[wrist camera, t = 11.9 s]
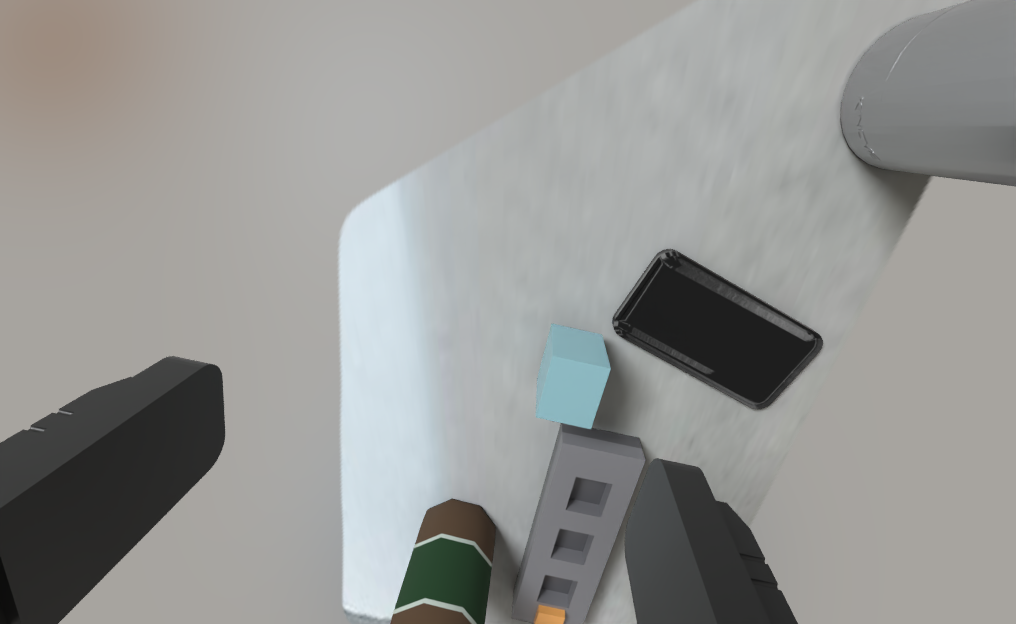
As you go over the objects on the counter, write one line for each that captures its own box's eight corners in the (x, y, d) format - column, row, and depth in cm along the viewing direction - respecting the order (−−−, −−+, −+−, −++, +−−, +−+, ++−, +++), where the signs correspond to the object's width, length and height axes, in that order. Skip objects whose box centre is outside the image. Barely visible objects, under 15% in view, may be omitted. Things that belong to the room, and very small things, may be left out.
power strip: (561, 421, 41) (562, 449, 38) (638, 437, 41) (647, 467, 38) (513, 590, 50) (511, 626, 46) (578, 604, 50) (580, 641, 46)
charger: (551, 315, 38) (552, 355, 31) (599, 326, 38) (610, 368, 31) (537, 368, 40) (535, 417, 33) (583, 379, 40) (590, 429, 33)
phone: (666, 245, 34) (829, 340, 36) (662, 242, 35) (822, 334, 37) (606, 330, 37) (760, 414, 39) (605, 325, 38) (755, 407, 40)
